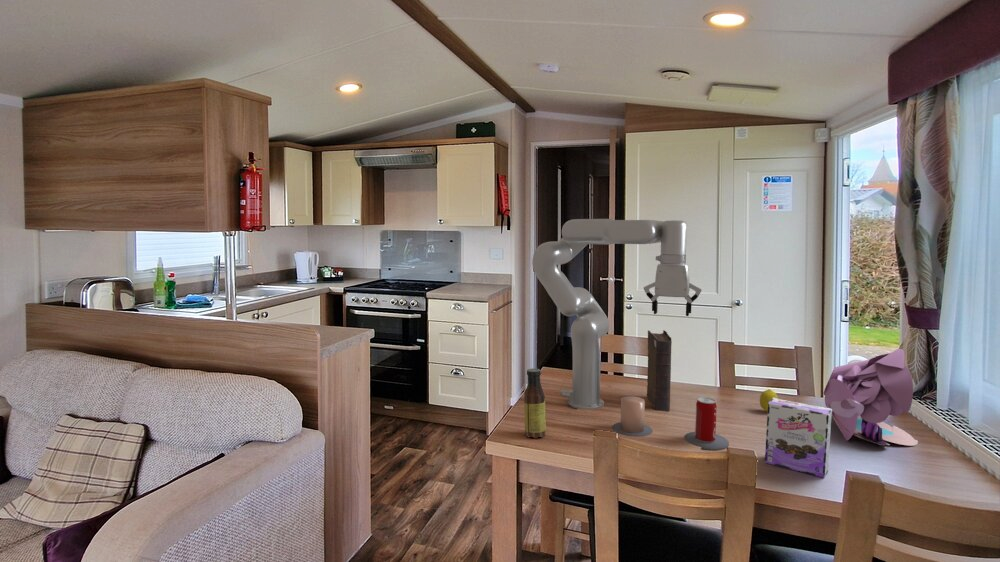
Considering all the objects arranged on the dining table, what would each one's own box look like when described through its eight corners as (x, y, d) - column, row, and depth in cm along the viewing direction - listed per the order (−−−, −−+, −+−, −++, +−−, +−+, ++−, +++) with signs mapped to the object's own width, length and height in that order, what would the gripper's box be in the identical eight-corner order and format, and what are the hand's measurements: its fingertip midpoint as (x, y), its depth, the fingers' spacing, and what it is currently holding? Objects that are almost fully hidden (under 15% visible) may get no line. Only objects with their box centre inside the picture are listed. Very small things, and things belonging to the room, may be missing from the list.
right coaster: (682, 446, 150) (682, 444, 150) (685, 431, 161) (685, 429, 161) (728, 453, 145) (728, 451, 145) (728, 437, 156) (728, 435, 156)
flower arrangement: (938, 477, 141) (979, 380, 135) (843, 453, 145) (878, 358, 139) (878, 418, 175) (908, 339, 168) (802, 400, 179) (828, 322, 172)
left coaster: (608, 434, 158) (608, 432, 158) (616, 421, 169) (616, 419, 169) (649, 441, 153) (649, 439, 153) (655, 426, 164) (655, 424, 164)
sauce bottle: (550, 435, 158) (550, 370, 156) (536, 441, 153) (536, 374, 151) (533, 429, 162) (533, 366, 160) (519, 435, 158) (519, 369, 156)
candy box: (763, 463, 139) (766, 402, 137) (769, 455, 143) (772, 396, 142) (824, 478, 130) (828, 413, 128) (828, 470, 135) (832, 407, 133)
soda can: (716, 444, 149) (718, 402, 148) (696, 442, 151) (698, 401, 149) (713, 436, 155) (715, 396, 154) (693, 434, 156) (695, 395, 155)
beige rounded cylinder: (618, 431, 159) (618, 402, 158) (622, 423, 166) (623, 395, 165) (642, 434, 156) (642, 405, 156) (645, 426, 163) (646, 398, 162)
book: (670, 413, 176) (672, 339, 174) (648, 411, 178) (650, 338, 175) (666, 397, 192) (668, 330, 190) (645, 396, 194) (647, 329, 191)
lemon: (780, 416, 173) (781, 392, 173) (761, 415, 174) (762, 391, 174) (774, 410, 179) (776, 387, 178) (757, 409, 180) (758, 386, 179)
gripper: (642, 260, 165) (641, 314, 167) (701, 261, 158) (699, 318, 160) (646, 259, 172) (644, 311, 174) (703, 260, 165) (701, 314, 167)
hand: (671, 314), depth 167 cm, fingers open, 9 cm apart
